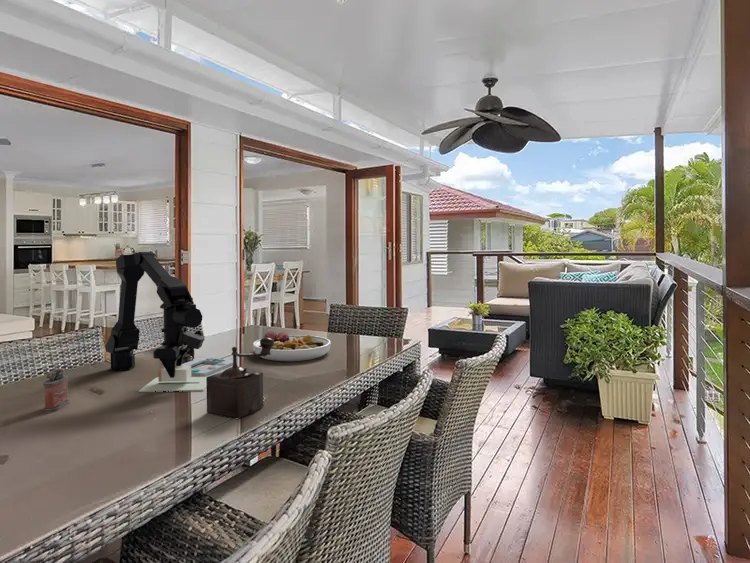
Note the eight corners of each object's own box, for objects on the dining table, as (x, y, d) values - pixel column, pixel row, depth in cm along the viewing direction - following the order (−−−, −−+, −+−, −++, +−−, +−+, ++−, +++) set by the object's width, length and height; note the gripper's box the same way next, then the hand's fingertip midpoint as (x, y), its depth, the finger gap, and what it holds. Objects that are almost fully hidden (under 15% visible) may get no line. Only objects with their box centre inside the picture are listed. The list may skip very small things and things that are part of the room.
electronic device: (200, 356, 178) (236, 359, 174) (200, 362, 178) (236, 365, 174) (166, 368, 161) (205, 372, 156) (166, 375, 161) (205, 379, 157)
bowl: (345, 352, 196) (345, 333, 195) (295, 367, 170) (295, 345, 170) (289, 343, 212) (289, 326, 211) (236, 356, 186) (236, 336, 186)
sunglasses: (198, 361, 178) (196, 347, 178) (164, 369, 172) (161, 355, 171) (192, 355, 187) (190, 343, 186) (159, 363, 181) (156, 350, 180)
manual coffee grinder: (239, 420, 118) (239, 347, 117) (205, 413, 123) (204, 343, 122) (278, 401, 132) (277, 336, 131) (245, 396, 137) (245, 333, 136)
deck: (186, 381, 145) (186, 369, 145) (158, 381, 144) (158, 370, 144) (191, 376, 150) (191, 365, 150) (164, 377, 149) (164, 365, 149)
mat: (138, 392, 140) (138, 390, 140) (156, 379, 153) (156, 377, 153) (203, 391, 141) (203, 389, 141) (214, 378, 155) (214, 376, 155)
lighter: (58, 402, 130) (57, 365, 129) (72, 402, 130) (70, 365, 130) (40, 412, 122) (39, 373, 121) (54, 412, 122) (53, 373, 122)
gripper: (192, 329, 137) (193, 383, 139) (209, 319, 156) (209, 367, 157) (152, 329, 136) (153, 384, 137) (173, 319, 155) (174, 367, 156)
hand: (175, 375), depth 147 cm, fingers closed on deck, 5 cm apart
